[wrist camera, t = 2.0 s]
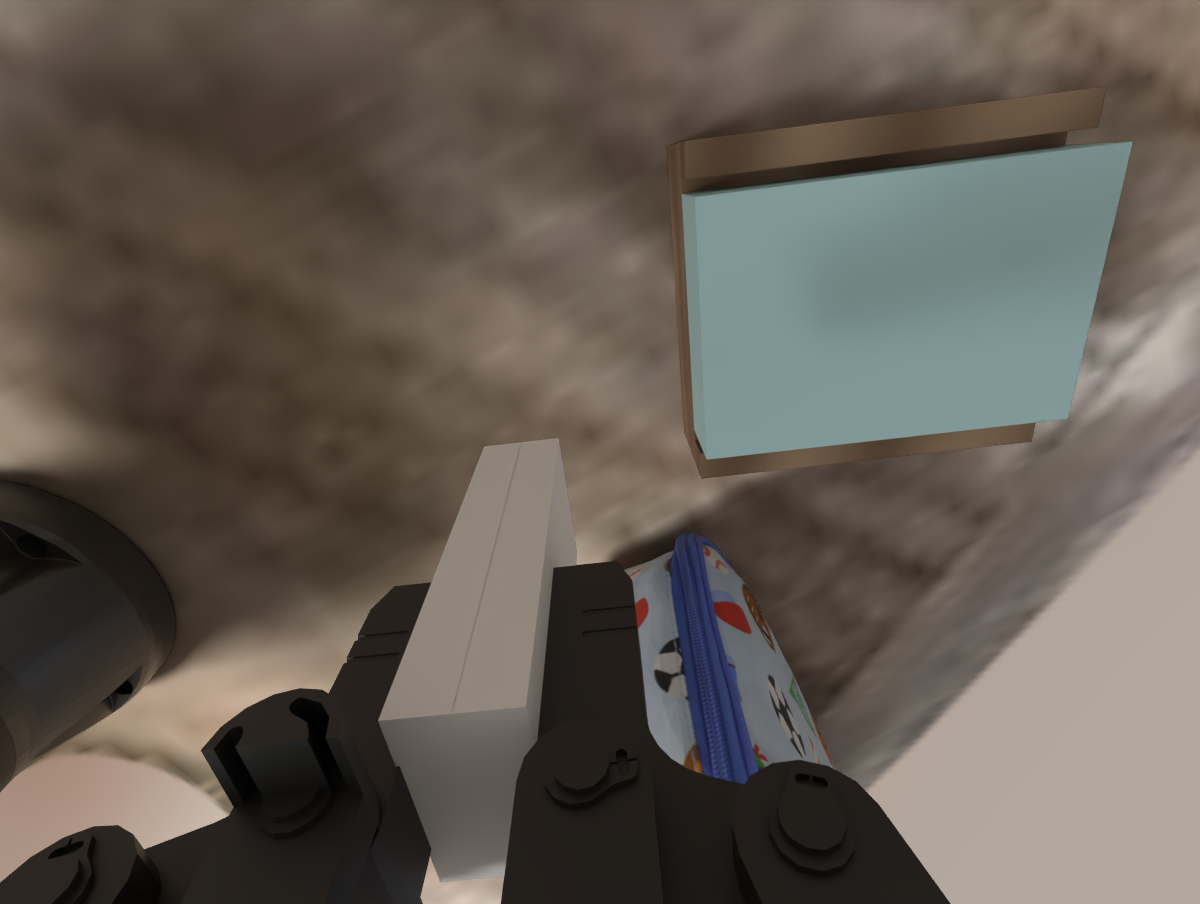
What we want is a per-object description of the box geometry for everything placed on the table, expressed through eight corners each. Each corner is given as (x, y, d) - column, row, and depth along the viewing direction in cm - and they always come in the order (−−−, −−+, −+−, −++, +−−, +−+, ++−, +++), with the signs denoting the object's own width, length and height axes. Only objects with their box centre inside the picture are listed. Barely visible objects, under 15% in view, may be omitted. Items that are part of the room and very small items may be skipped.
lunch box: (864, 779, 42) (1115, 1328, 22) (730, 828, 44) (848, 1372, 24) (695, 480, 32) (881, 1009, 12) (528, 562, 34) (444, 1134, 14)
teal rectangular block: (694, 429, 26) (706, 459, 24) (681, 193, 22) (695, 197, 20) (1017, 392, 26) (1067, 418, 23) (1064, 145, 22) (1133, 141, 19)
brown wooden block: (684, 432, 30) (701, 478, 26) (666, 146, 25) (684, 140, 20) (964, 400, 30) (1031, 441, 25) (1009, 101, 24) (1106, 86, 20)
